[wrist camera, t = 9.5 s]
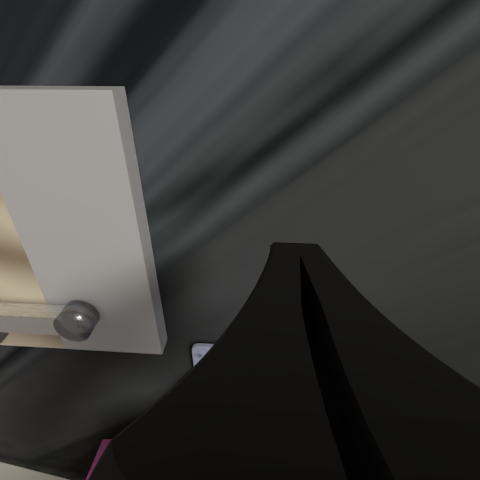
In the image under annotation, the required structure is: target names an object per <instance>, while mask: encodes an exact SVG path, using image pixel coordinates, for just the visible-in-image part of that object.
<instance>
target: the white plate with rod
mask: <svg viewBox="0 0 480 480" xmlns="http://www.w3.org/2000/svg"><path fill="white" fill-rule="evenodd" d="M0 193H1V195H2V197H3V200H4V202H5V205H6V207H7V209H8V212H9V214H10V217H11V219H12V221H13V224H14V226H15V229H16V231H17V233H18V236H19V238H20V241H21V243H22V245H23V248H24V250H25V253H26V255H27V258H28V260H29V262H30V265H31V267H32V270H33V272H34V274H35V277H36V279H37V282H38V284H39V286H40V289H41V291H42V294H43V296H44V298H45V301H46V303H47V304H52V305H66V304H67V303H68V302H70V301H73V300H80V301H84V302H87V303H89V304H91V305H92V306H94V307H95V308H96V309H97V311H98V312H99V315H100V319H99V322H98V323H97V325H96V326H95V328H94V330H93V331H92V333H91V335H90V336H89V338H88V339H87V340H85V341H81V342H75V341H70V340H68V339H65V338H63V337H62V336H60V337H61V339H62V342H63V344H64V347H65V349H78V350H95V351H112V352H129V353H145V354H162V353H163V350H164V348H165V345H166V342H167V333H166V327H165V321H164V316H163V310H162V304H161V298H160V292H159V286H158V280H157V274H156V269H155V263H154V257H153V251H152V245H151V239H150V233H149V227H148V222H147V216H146V210H145V204H144V198H143V192H142V186H141V180H140V174H139V169H138V163H137V157H136V151H135V145H134V139H133V133H132V127H131V122H130V116H129V110H128V104H127V98H126V92H125V86H0Z"/></svg>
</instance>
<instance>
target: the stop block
mask: <svg viewBox="0 0 480 480" xmlns="http://www.w3.org/2000/svg"><path fill="white" fill-rule="evenodd" d="M8 334H9V333H6V332H0V343H1V342H2V341H3V340H4V339H5V338H6V337H7V335H8Z"/></svg>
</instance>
